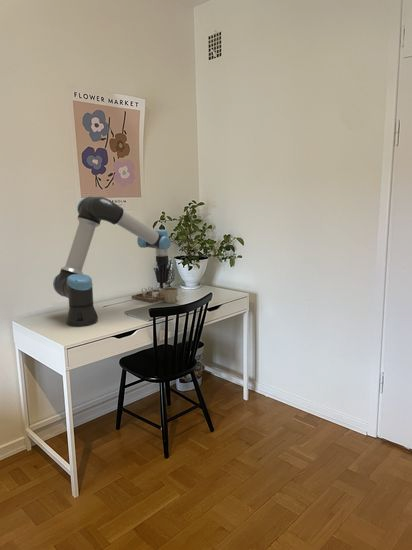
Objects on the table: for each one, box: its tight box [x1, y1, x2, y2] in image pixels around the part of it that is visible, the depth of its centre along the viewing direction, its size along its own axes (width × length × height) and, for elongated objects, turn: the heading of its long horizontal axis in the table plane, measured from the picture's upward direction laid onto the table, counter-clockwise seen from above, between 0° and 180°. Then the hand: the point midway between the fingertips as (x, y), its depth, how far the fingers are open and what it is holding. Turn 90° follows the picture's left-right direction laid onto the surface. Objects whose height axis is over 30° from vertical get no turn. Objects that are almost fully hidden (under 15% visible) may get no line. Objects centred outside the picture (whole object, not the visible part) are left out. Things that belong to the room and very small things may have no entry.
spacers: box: [141, 284, 161, 299], centre depth 256 cm, size 17×14×5 cm
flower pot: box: [162, 286, 179, 304], centre depth 245 cm, size 9×9×9 cm
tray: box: [131, 289, 179, 304], centre depth 256 cm, size 22×17×3 cm
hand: (162, 293), depth 261 cm, fingers closed
